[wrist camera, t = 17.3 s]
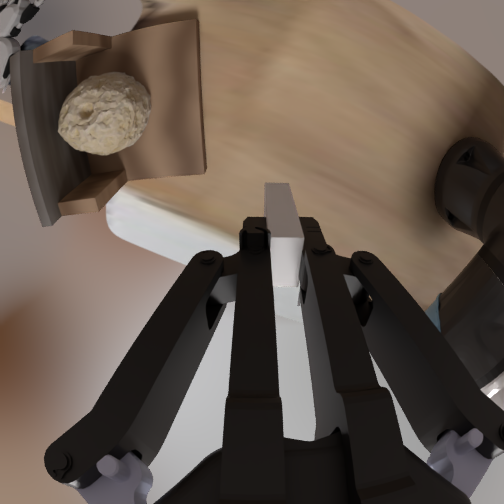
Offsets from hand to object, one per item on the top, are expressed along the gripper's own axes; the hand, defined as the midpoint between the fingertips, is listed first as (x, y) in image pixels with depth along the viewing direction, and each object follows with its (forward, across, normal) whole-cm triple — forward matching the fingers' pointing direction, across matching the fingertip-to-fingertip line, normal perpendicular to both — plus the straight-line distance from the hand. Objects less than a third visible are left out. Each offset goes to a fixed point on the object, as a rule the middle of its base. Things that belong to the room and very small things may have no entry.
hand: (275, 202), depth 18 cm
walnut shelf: (+15, +15, -6) cm, 22 cm away
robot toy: (+14, +36, -23) cm, 45 cm away
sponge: (+13, +17, -6) cm, 22 cm away
